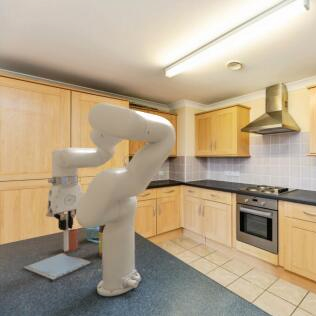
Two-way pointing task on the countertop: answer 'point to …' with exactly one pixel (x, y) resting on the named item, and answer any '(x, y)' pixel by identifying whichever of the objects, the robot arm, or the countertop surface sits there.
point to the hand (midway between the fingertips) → (66, 228)
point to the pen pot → (72, 240)
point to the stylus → (66, 235)
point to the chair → (93, 234)
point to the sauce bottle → (100, 239)
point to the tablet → (57, 266)
